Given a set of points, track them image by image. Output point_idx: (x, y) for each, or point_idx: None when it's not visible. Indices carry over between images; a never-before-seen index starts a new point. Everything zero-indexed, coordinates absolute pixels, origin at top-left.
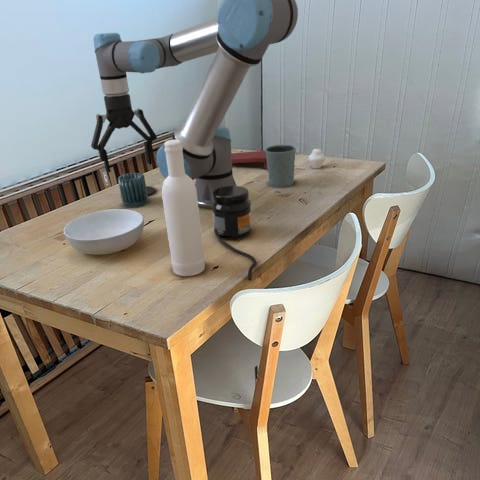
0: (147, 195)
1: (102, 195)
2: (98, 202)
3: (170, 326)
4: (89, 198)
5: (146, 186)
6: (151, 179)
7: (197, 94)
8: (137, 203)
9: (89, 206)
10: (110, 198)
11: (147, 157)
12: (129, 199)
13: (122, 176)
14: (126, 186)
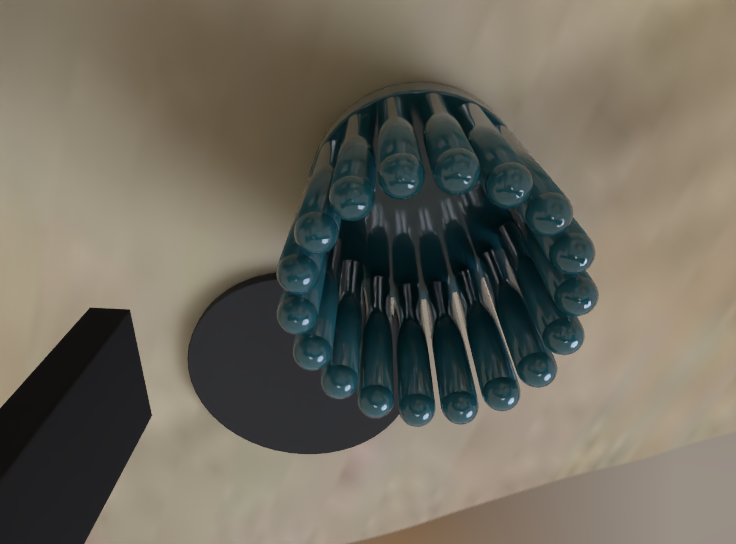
0: None
1: (521, 461)
2: (609, 371)
3: None
4: (607, 461)
5: (231, 426)
6: (163, 522)
7: None
8: (443, 90)
9: (697, 340)
10: None
11: (95, 438)
12: (509, 131)
13: (500, 385)
14: (549, 178)
